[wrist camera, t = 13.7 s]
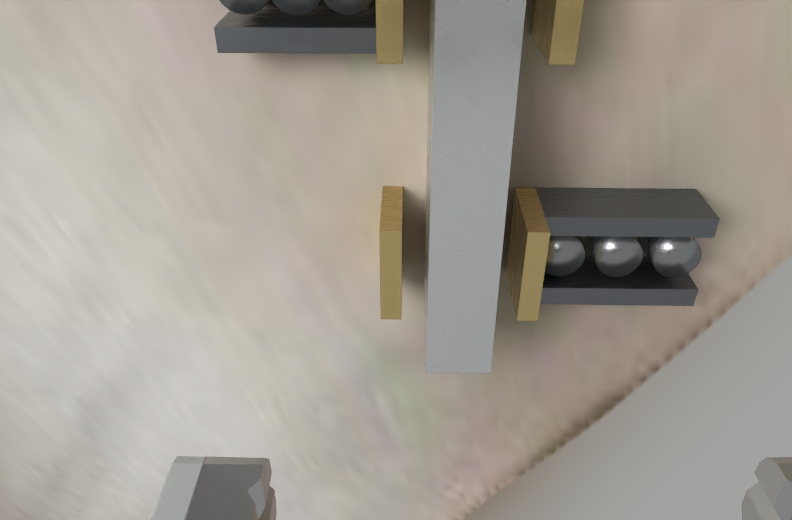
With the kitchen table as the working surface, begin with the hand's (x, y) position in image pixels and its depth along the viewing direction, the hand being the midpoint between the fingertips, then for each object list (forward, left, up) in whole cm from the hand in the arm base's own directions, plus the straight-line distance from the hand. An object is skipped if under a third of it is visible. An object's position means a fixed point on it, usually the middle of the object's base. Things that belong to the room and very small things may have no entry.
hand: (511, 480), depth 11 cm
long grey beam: (0, 0, -17) cm, 17 cm away
